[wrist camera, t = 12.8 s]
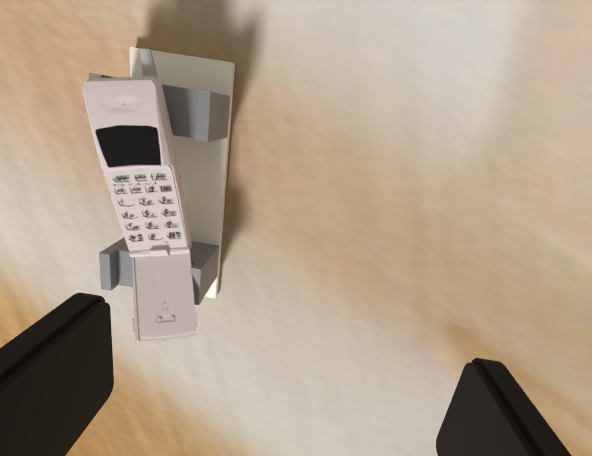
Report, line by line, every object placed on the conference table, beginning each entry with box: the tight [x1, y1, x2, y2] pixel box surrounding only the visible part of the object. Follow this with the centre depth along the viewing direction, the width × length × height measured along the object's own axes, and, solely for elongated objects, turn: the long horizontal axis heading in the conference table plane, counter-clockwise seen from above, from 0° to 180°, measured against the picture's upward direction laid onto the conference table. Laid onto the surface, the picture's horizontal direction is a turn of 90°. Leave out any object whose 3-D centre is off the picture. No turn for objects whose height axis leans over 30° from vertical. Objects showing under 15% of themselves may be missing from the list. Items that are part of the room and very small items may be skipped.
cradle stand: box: [89, 47, 235, 305], centre depth 33 cm, size 26×10×7 cm, turn 172°
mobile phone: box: [82, 49, 197, 341], centre depth 29 cm, size 6×6×25 cm
